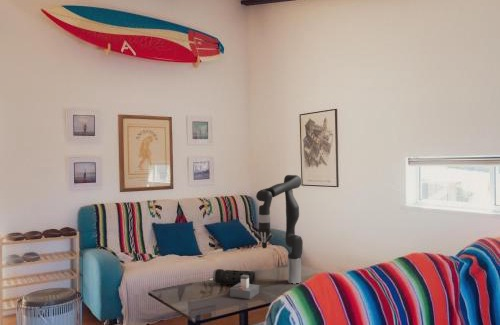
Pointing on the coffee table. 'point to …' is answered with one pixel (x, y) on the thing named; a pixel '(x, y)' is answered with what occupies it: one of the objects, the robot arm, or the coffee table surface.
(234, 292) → the socket
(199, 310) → the coffee table surface
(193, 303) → the coffee table surface
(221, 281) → the muzzle brake
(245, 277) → the plug
